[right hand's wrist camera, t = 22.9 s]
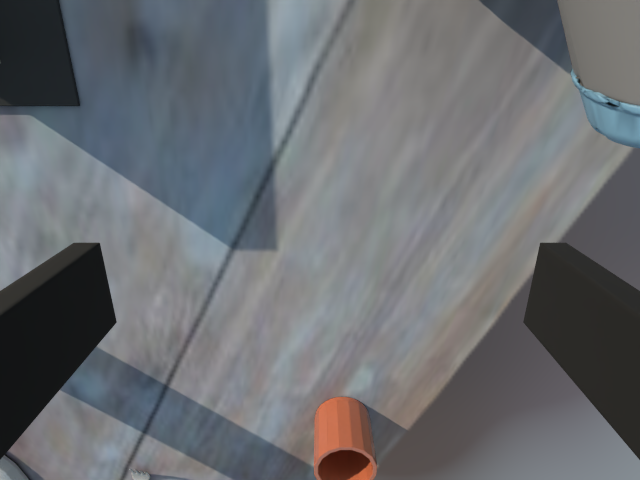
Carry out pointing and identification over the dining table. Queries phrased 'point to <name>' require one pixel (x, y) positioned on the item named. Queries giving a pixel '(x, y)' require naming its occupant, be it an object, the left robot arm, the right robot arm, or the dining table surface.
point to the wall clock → (10, 470)
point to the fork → (140, 475)
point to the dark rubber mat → (34, 55)
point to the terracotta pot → (343, 441)
